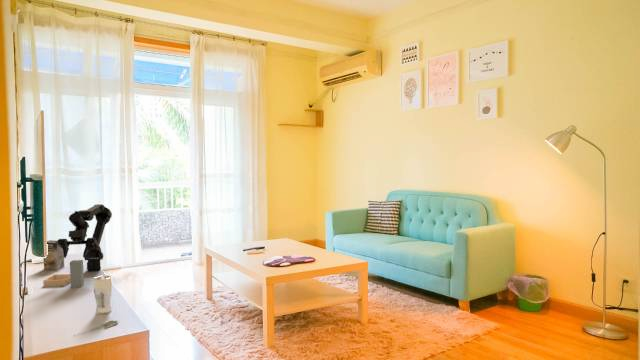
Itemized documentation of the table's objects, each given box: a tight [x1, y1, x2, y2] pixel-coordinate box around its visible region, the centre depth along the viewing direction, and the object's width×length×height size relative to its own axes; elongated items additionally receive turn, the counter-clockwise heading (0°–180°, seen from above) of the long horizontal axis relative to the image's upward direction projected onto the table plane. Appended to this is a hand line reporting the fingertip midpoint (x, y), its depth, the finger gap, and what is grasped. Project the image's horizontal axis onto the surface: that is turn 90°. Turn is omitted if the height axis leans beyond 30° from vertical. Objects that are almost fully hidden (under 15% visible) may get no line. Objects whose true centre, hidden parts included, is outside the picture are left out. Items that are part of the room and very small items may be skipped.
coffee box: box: [42, 239, 65, 271], centre depth 256 cm, size 9×6×16 cm
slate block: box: [69, 259, 85, 289], centre depth 222 cm, size 5×4×13 cm
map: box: [73, 320, 118, 336], centre depth 167 cm, size 5×20×1 cm, turn 150°
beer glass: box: [93, 275, 113, 315], centre depth 187 cm, size 7×7×15 cm
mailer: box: [42, 273, 71, 287], centre depth 231 cm, size 11×17×3 cm, turn 4°
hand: (74, 257), depth 227 cm, fingers open, 9 cm apart
